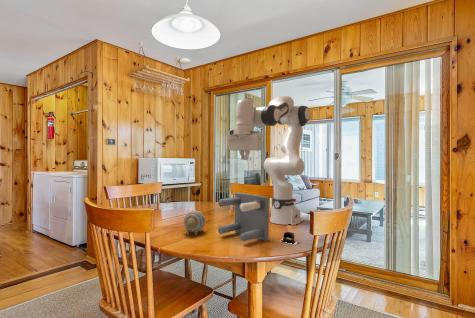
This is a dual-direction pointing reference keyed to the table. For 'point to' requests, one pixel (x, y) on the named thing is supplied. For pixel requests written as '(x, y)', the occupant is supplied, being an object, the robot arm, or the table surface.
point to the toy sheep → (194, 222)
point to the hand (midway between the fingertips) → (244, 159)
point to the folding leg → (251, 206)
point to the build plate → (288, 235)
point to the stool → (248, 217)
